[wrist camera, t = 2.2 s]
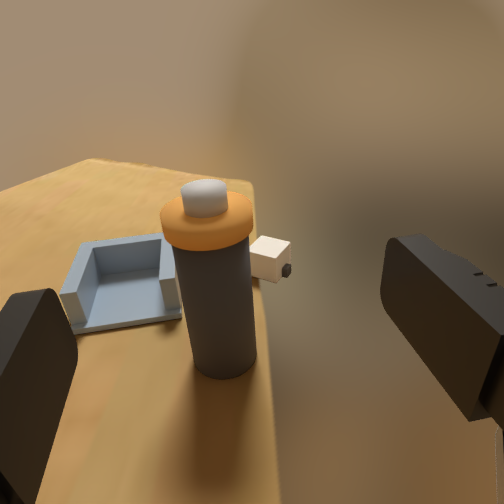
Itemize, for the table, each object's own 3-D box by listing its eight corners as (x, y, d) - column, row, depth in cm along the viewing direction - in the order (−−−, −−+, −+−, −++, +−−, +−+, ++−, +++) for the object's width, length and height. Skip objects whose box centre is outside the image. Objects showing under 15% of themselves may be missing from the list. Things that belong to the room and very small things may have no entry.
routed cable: (126, 265, 37) (119, 242, 35) (171, 234, 42) (167, 213, 40) (260, 310, 30) (259, 284, 28) (295, 267, 35) (295, 243, 33)
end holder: (182, 317, 30) (174, 282, 28) (71, 335, 29) (56, 299, 27) (180, 262, 37) (174, 230, 35) (92, 274, 36) (81, 242, 34)
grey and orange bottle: (174, 365, 25) (134, 197, 19) (216, 321, 29) (194, 166, 23) (236, 394, 23) (215, 214, 17) (273, 342, 27) (267, 177, 20)
